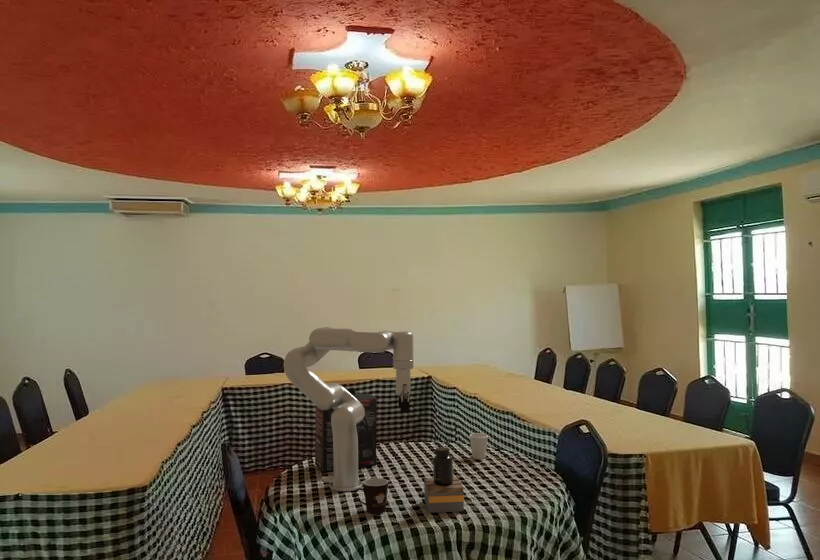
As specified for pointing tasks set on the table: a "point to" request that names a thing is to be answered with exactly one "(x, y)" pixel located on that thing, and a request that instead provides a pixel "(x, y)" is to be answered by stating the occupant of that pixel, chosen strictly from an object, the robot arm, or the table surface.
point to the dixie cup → (478, 445)
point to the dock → (444, 501)
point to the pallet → (434, 488)
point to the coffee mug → (374, 495)
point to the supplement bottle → (443, 467)
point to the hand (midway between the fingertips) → (403, 410)
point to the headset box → (364, 432)
